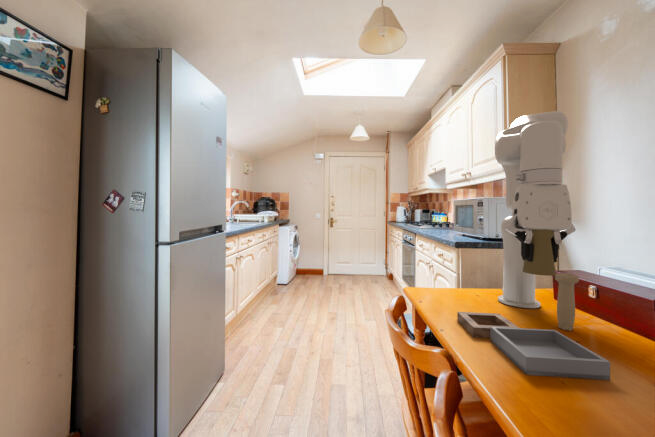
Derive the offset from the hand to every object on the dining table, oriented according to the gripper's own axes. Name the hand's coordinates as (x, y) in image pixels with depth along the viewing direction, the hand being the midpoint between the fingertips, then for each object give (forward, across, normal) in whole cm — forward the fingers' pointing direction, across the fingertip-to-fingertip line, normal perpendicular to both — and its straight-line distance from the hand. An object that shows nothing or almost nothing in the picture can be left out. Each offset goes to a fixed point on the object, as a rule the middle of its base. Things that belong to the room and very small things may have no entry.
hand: (539, 260), depth 62 cm
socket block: (+21, -5, +14) cm, 26 cm away
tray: (+21, 0, -1) cm, 22 cm away
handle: (+22, +17, +17) cm, 33 cm away
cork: (+3, 0, 0) cm, 3 cm away
